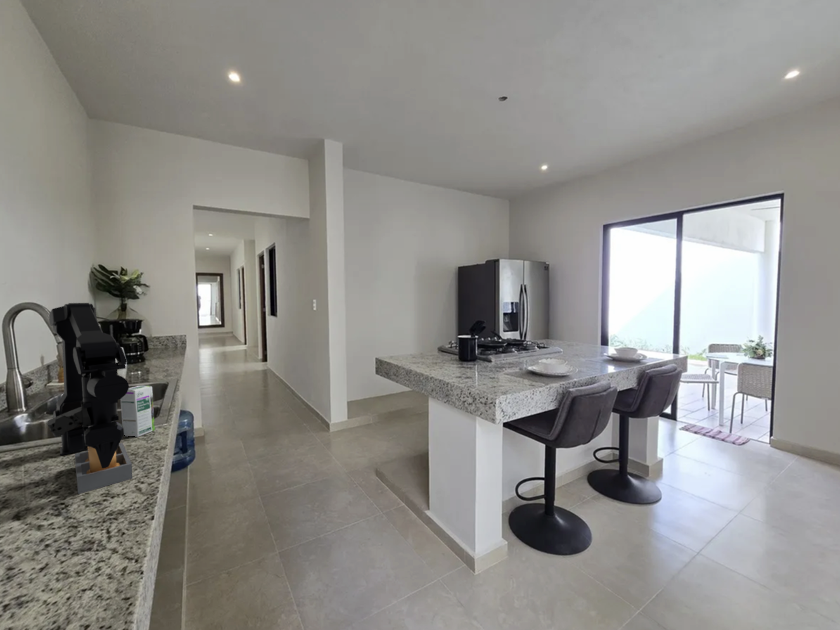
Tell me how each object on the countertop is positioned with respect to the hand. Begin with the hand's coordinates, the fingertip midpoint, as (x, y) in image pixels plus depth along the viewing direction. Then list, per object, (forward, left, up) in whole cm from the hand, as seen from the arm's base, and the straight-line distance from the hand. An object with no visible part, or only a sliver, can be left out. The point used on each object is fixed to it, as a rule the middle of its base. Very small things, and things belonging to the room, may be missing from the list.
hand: (103, 461), depth 82 cm
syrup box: (-30, +10, -4) cm, 32 cm away
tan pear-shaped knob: (0, 0, -3) cm, 3 cm away
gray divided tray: (-4, 0, -4) cm, 6 cm away
